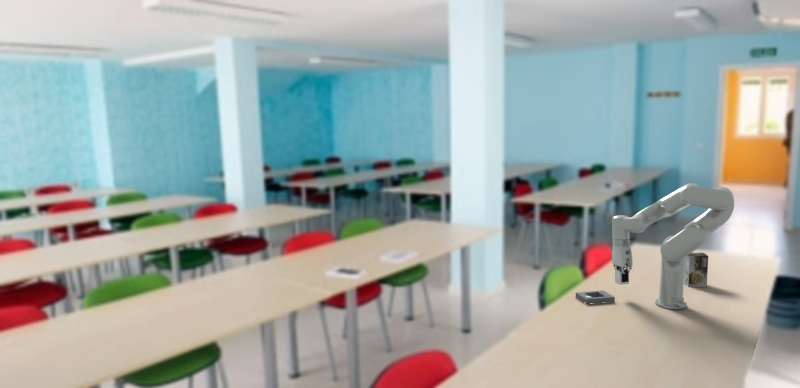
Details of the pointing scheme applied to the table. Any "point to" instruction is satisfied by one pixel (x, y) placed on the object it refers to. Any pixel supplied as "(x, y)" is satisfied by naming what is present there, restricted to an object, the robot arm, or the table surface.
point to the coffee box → (696, 270)
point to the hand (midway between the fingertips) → (621, 280)
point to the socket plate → (595, 297)
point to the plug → (619, 277)
